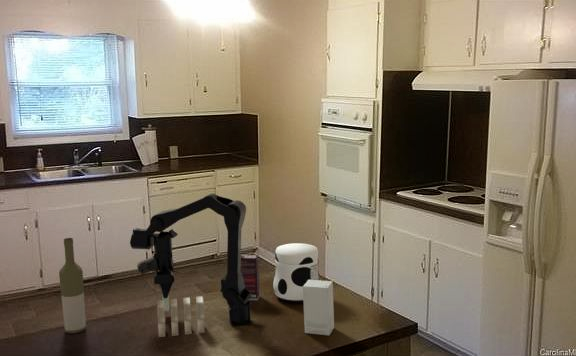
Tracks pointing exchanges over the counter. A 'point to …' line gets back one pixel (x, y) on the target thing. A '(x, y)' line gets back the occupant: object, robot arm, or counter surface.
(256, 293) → the supplement box
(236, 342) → the counter surface
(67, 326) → the bottle
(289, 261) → the milk container
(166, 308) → the domino
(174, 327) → the domino
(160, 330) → the domino
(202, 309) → the end domino
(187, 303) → the domino
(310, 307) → the skincare box
